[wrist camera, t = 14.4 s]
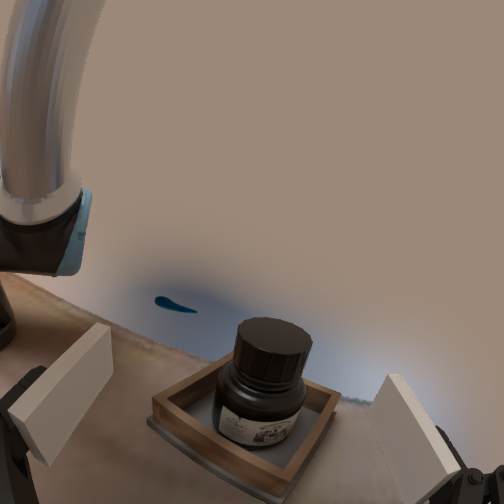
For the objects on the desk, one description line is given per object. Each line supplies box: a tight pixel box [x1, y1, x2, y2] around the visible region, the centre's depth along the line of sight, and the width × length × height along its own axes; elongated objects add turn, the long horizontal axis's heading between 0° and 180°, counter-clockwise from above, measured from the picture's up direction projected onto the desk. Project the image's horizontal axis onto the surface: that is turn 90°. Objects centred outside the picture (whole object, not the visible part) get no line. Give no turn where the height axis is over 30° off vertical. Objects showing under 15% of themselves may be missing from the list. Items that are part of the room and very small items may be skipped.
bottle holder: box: [147, 351, 341, 504], centre depth 26 cm, size 16×16×4 cm
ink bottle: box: [212, 317, 313, 450], centre depth 25 cm, size 10×9×12 cm
